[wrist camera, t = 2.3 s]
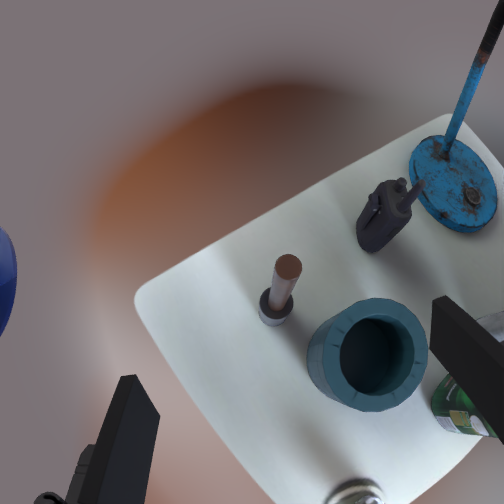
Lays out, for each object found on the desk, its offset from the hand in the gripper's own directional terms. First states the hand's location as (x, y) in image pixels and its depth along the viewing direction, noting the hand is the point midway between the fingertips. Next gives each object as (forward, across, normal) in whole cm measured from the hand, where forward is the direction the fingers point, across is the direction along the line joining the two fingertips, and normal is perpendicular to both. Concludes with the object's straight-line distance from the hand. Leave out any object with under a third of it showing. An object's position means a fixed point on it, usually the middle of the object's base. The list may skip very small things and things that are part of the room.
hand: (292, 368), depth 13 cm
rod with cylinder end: (+21, 0, -10) cm, 23 cm away
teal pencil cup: (+17, +7, -16) cm, 24 cm away
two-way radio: (+26, +13, -5) cm, 30 cm away
